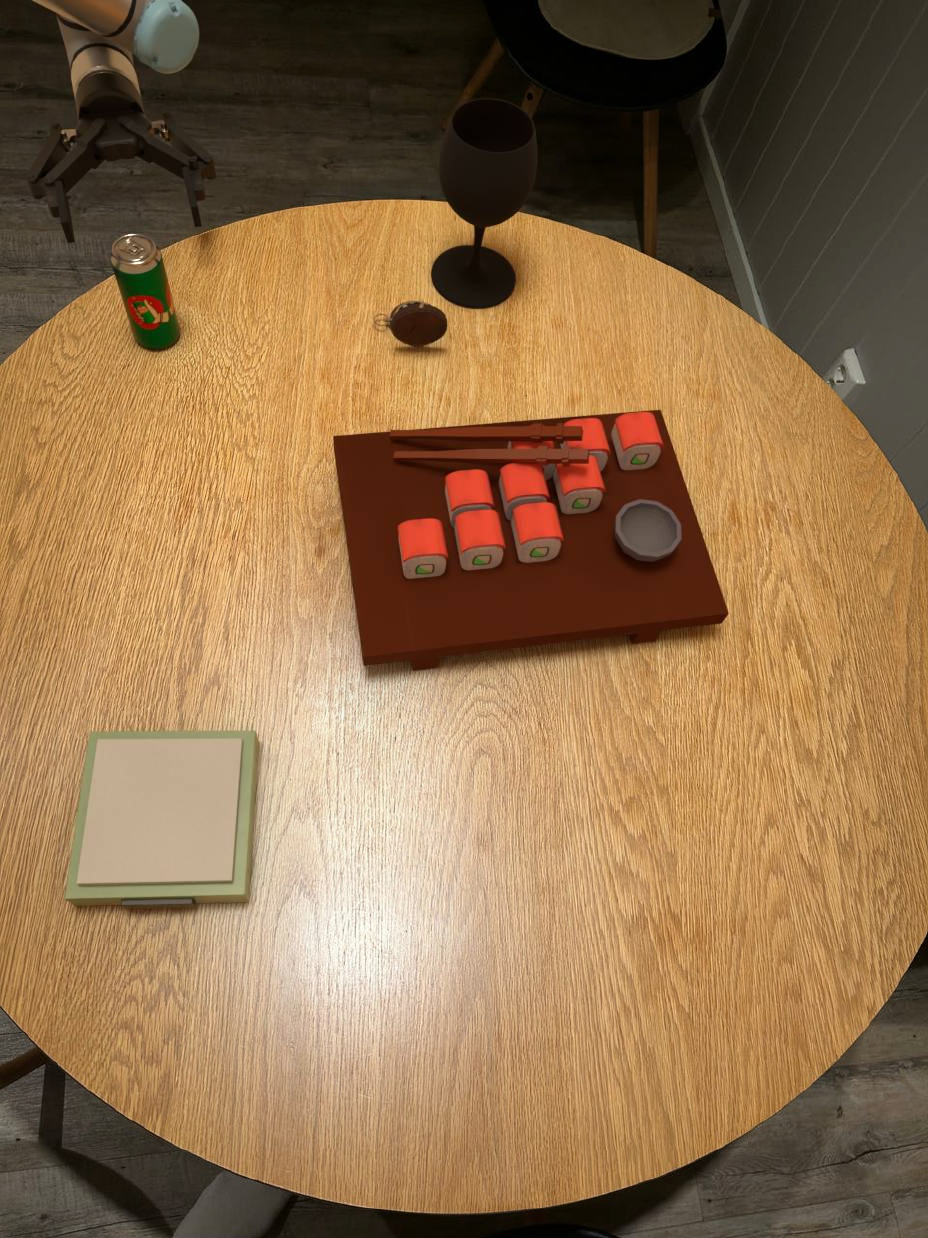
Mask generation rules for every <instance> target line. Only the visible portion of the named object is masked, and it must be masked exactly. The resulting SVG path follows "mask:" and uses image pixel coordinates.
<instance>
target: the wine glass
mask: <svg viewBox="0 0 928 1238" xmlns="http://www.w3.org/2000/svg"><path fill="white" fill-rule="evenodd" d="M536 132H537V131H536V126H535V123H534V121H533V119H532V117H531V116H530V115H529V113H528V112H526V111H525V110H524V109H523V108H521V106H518V105H517V104H515V103H513V102H510V101H508V100H504V99H500V98H494V97H493V98H491V97H480V98H474V99H471V100H468V101H465V102H464V103H462V104H460V105H459V106H458V107H457V108H456V109H454V111H453V113H452V115H451V117H450V118H449V122H448V124H447V127H446V129H445V131H444V135H443V138H442V141H441V146H440V150H439V157H438V177H439V183H440V187H441V192H442V194H443V196H444V198H445V200H446V202H447V204H448V205H449V207H450V208H451V210H452V211H453V212H454V213H455V214H456V215H457V216H458V217H459V218H461V220H463V221H465V222H466V223H468V224H470V225H472V226H473V244H462V245H455V246H453V247H450V248H448V249H446V250H444V251H443V252H441V253H440V254H439V255H438V256H437V257H436V258H435V260H434V261H433V263H432V265H431V270H430V278H431V283H432V285H433V287H434V288H435V290H436V292H437V293H438V294H439V295H440V296H442V297H443V298H444V299H445V300H446V301H448V302H450V303H452V304H454V305H456V306H458V307H463V308H467V309H478V310H479V309H487V308H492V307H495V306H498V305H500V304H501V303H504V302H505V301H506V300H508V299H509V297H510V296H511V295H512V294H513V292H514V290H515V288H516V282H517V276H516V272H515V269H514V267H513V265H512V264H511V262H510V261H509V260H508V259H507V258H506V257H505V256H504V255H503V254H501V253H500V252H499V251H496V250H494V249H492V248H490V247H486V246H483V240H484V235H485V231H486V229H487V228H491V227H495V226H498V225H500V224H503V223H505V222H507V221H508V220H510V219H512V218H513V217H515V215H516V214H517V213H518V212H520V210H522V208H523V206H524V205H525V203H526V202H527V200H528V199H529V197H530V195H531V193H532V190H533V187H534V184H535V181H536V176H537V169H538V141H537V140H538V139H537V133H536Z"/></svg>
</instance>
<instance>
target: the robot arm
mask: <svg viewBox="0 0 928 1238" xmlns="http://www.w3.org/2000/svg"><path fill="white" fill-rule="evenodd" d="M31 1H33V2H34V3H36V4H38V5H41V6H42V7H44V8H45V9H48V10H50V11H52V12H54V13H55V15H56V19H57V23H58V26H59V30H60V33H61V37H62V40H63V43H64V47H65V51H66V57H67V61H68V63H69V64H68V66H69V69H70V78H71V85H72V91H73V95H74V96H73V97H74V100H75V107H76V113H77V121H78V124H77V125H76V127H75V128H70V129H66V128H65V129H63V128H62V125H61V124H60V123H59V122H53V123H51V124H49V125H50V126H49V137H48V138H47V140H46V141H45V143H44V145H43V146H42V147H41V150H40V151H39V153H38V154H37V156H36V157H35V159H34V161H33V163H32V164H31V166H30V168H29V169H28V171H27V173H26V175H25V177H24V178H25V181H26V183H27V185H28V188H29V191H30V194H31V197H32V199H34V200H42V199H43V198H44V197H45V198H46V204H47V207H48V209H49V212H50V215H51V216H52V218H54V219H56V218H59V222H60V225H61V228H62V231H63V234H64V236H65V239H66V241H67V244H73V243H76V240H75V233H74V225H73V220H72V213H71V207H70V202H69V198H68V195H67V194H68V193H69V192H70V191H71V190H72V188H73V187H75V185H77V183H78V182H79V181H81V179H83V178H84V177H85V175H86V174H87V173H89V171H91V170H92V169H93V170H96V169H98V168H99V166H101V164H103V162H105V161H106V162H115V161H118V160H134V159H136V158H139V159H141V160H143V162H146V163H148V164H152V163H154V164H155V165H157V166H159V167H161V168H163V169H165V170H166V171H168V172H170V173H171V174H173V175H175V176H176V177H178V178H180V179H182V180H183V181H184V186H185V191H186V195H187V199H188V203H189V207H190V213H191V216H192V221H193V225H194V228H201V227H203V225H202V221H201V220H202V219H201V215H200V211H199V205H198V204H199V203H198V202H203V201H205V200H206V197H207V196H206V191H205V187H204V182H203V181H204V180H205V179H207V180H210V181H213V180H215V179H216V178H217V172H216V164H215V160H214V155H212V154H211V153H210V152H209V151H208V150H207V149H206V148H205V147H203V146H202V145H201V144H200V143H199V142H198V141H197V140H195V139H194V138H193V137H192V136H191V135H190V134H189V133H188V132H187V131H186V130H185V129H184V128H182V127H181V126H180V125H179V124H178V123H177V121H176V118H175V117H174V115H173V113H172V112H171V111H165V112H163V113H162V114H161V116H162V119H159V120H154V121H153V120H152V121H151V120H150V119H149V118H147V116H146V112H145V108H144V103H143V99H142V95H141V89H140V85H139V80H138V75H137V72H136V69H135V64H134V58H133V55H134V56H135V57H136V58H137V60H138V61H139V62H140V63H142V64H143V65H147V66H149V68H151V69H153V70H154V71H156V72H158V73H161V74H168V75H169V74H173V73H174V74H175V73H177V72H180V71H182V70H183V69H185V68H186V67H187V66H188V65H189V64H190V62H191V61H192V60H193V58H194V55H195V54H196V52H197V49H198V46H199V42H200V27H199V23H198V20H197V17H196V15H195V14H194V11H193V10H192V9H191V8H190V6H188V5H187V4H186V3H185V2H184V1H183V0H31ZM155 135H158V136H160V138H162V139H163V141H162V140H161V139H158V138H157V137H155ZM76 143H77V144H76ZM167 143H169V144H167ZM74 144H76V146H75V147H74V148H72V147H73V146H74Z"/></svg>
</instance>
